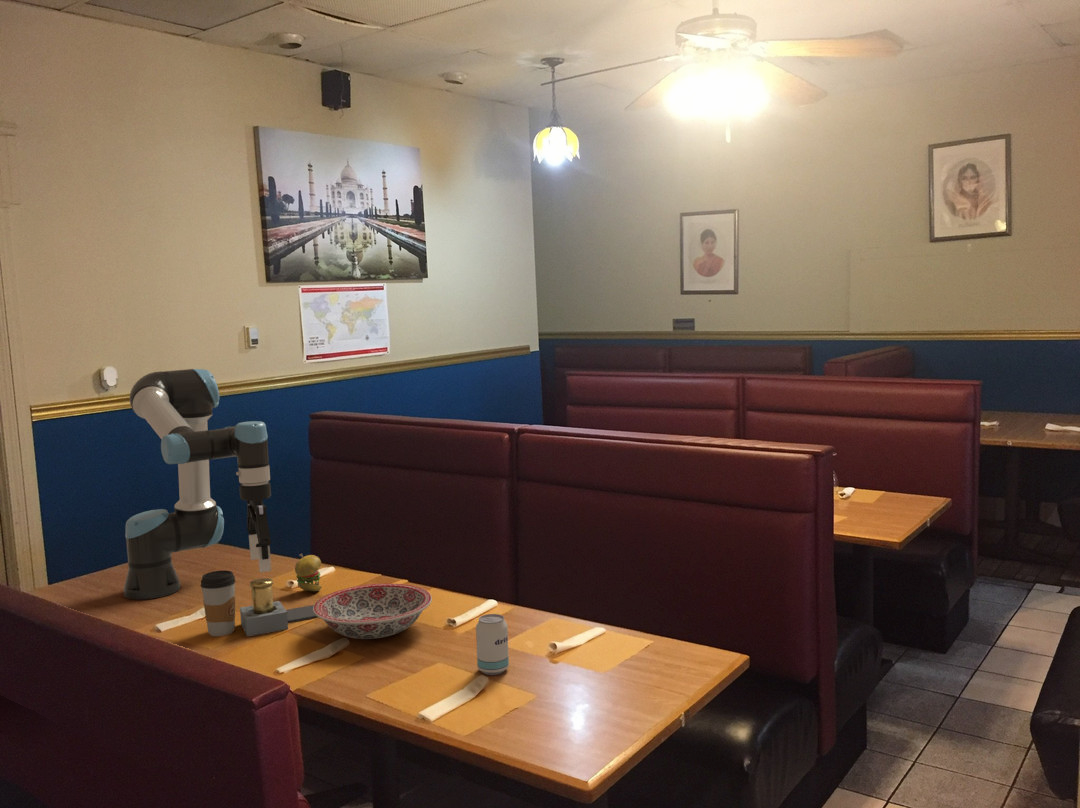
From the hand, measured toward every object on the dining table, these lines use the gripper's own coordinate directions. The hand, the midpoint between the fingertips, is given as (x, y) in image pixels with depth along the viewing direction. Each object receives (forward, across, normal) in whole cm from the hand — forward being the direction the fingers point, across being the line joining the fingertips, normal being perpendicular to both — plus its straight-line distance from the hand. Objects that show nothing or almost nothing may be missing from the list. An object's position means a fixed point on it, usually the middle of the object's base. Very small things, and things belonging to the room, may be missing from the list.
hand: (260, 565), depth 226 cm
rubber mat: (+16, -4, +10) cm, 20 cm away
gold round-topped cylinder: (+16, 0, 0) cm, 16 cm away
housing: (+16, 0, 0) cm, 16 cm away
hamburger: (+16, -22, +16) cm, 32 cm away
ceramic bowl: (+17, +18, +23) cm, 34 cm away
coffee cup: (+16, -2, -10) cm, 20 cm away
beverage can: (+17, +56, +39) cm, 70 cm away
